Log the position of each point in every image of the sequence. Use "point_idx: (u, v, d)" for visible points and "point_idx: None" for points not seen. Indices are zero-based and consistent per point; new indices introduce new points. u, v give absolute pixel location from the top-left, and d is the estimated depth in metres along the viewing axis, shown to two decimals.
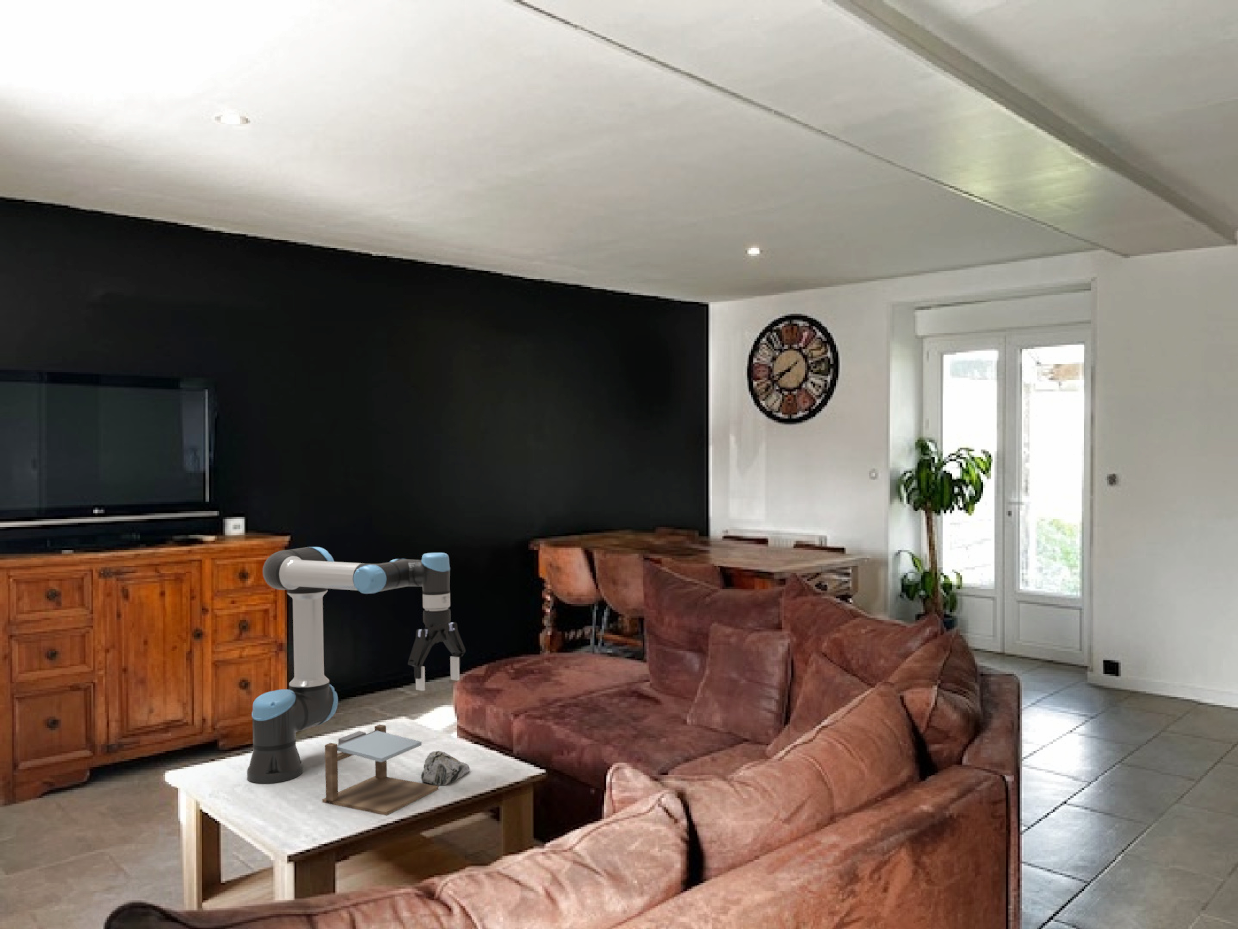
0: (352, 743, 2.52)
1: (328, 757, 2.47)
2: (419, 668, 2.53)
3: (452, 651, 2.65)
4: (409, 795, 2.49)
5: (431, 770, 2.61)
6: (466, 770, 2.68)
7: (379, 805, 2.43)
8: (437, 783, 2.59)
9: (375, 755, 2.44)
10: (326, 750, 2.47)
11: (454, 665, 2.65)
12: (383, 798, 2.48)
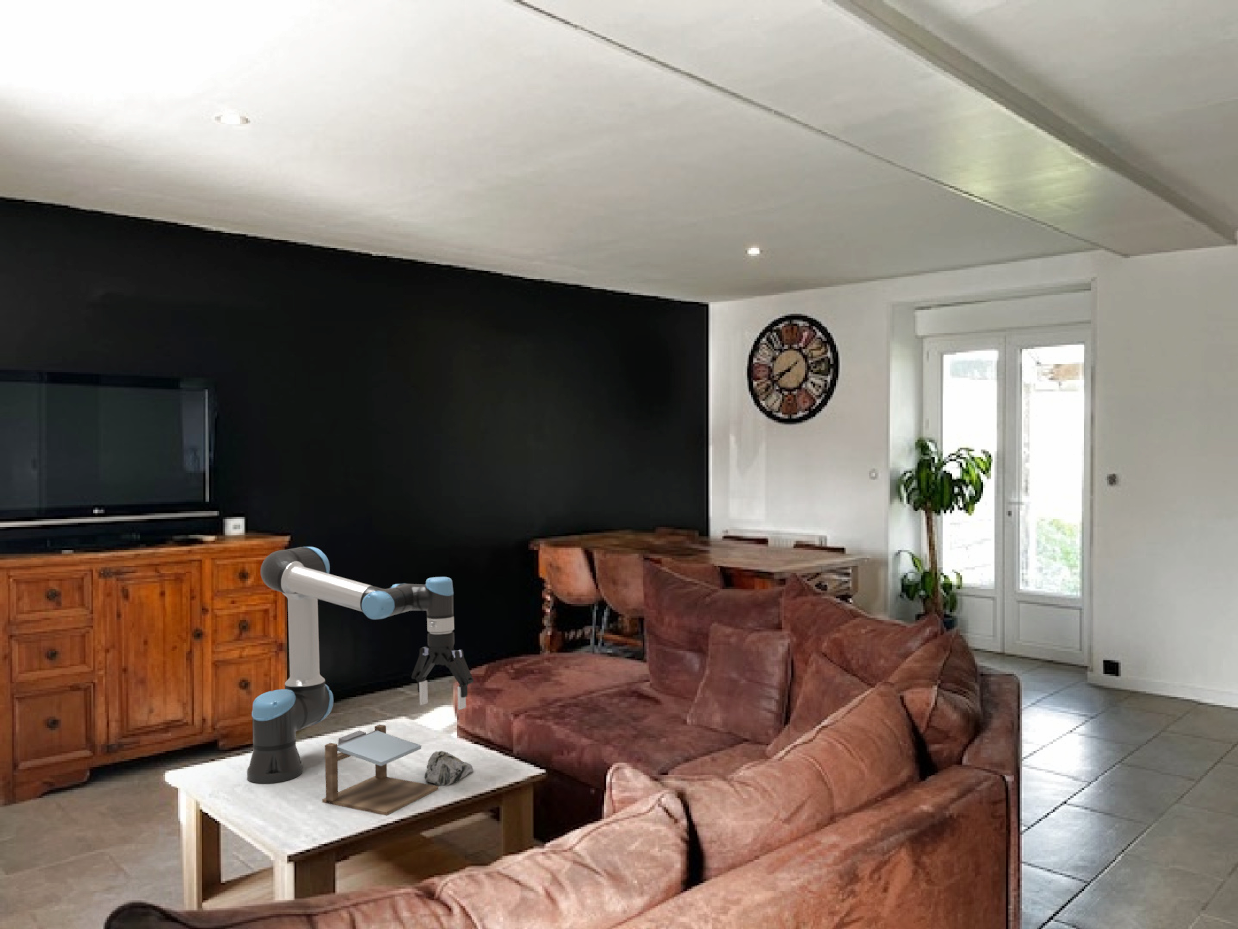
0: (352, 743, 2.52)
1: (328, 757, 2.47)
2: (419, 683, 2.69)
3: None
4: (409, 795, 2.49)
5: (434, 769, 2.61)
6: (469, 770, 2.68)
7: (379, 805, 2.43)
8: (441, 783, 2.59)
9: (375, 758, 2.44)
10: (326, 750, 2.47)
11: None
12: (383, 798, 2.48)
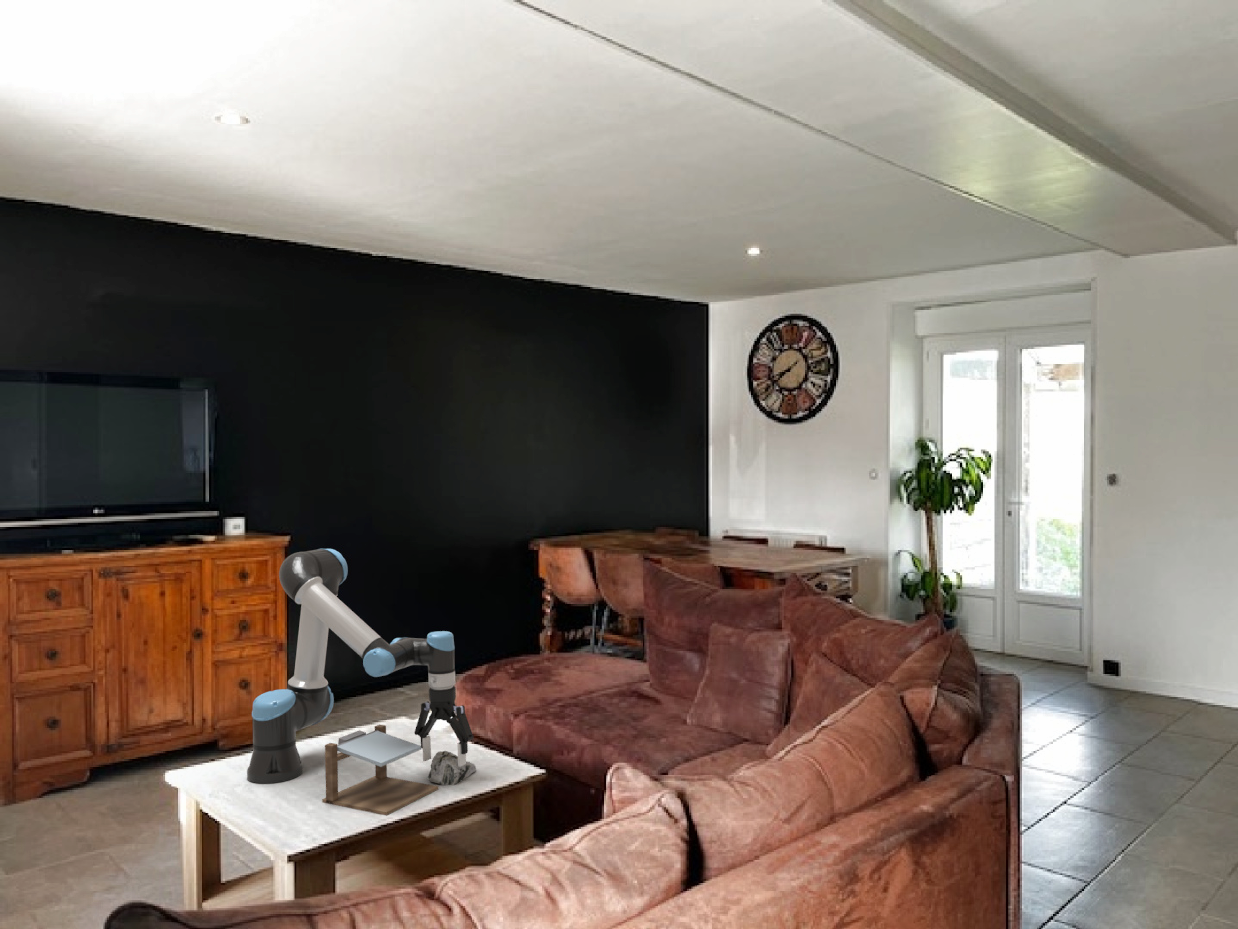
0: (352, 744, 2.52)
1: (328, 757, 2.47)
2: None
3: None
4: (409, 795, 2.49)
5: (438, 770, 2.61)
6: (473, 770, 2.69)
7: (379, 805, 2.43)
8: (445, 783, 2.60)
9: (375, 759, 2.44)
10: (326, 750, 2.47)
11: None
12: (383, 798, 2.48)
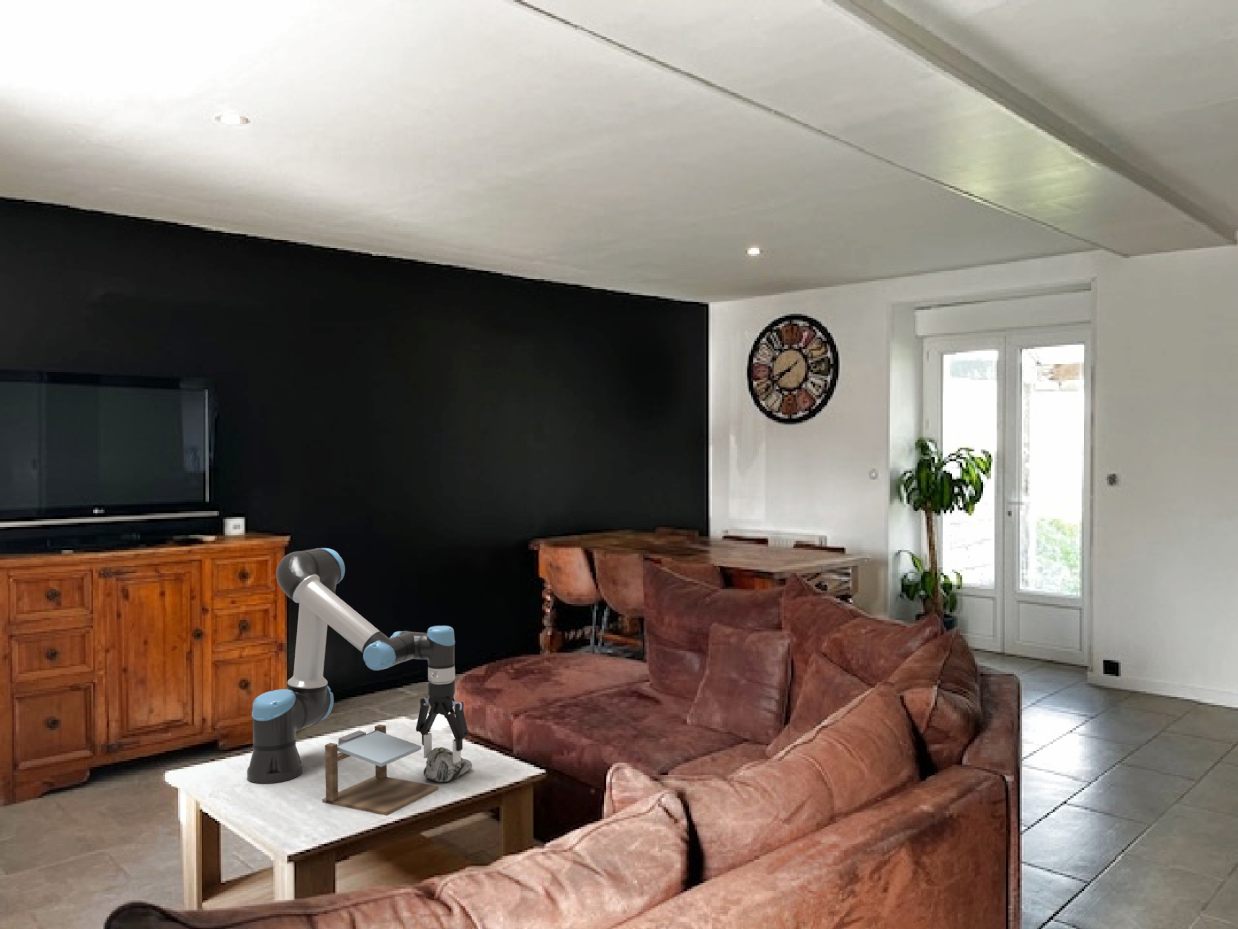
0: (352, 744, 2.52)
1: (328, 757, 2.47)
2: (424, 735, 2.68)
3: None
4: (409, 795, 2.49)
5: (433, 766, 2.62)
6: (468, 767, 2.69)
7: (379, 805, 2.43)
8: (439, 779, 2.60)
9: (375, 759, 2.44)
10: (326, 750, 2.47)
11: None
12: (383, 798, 2.48)
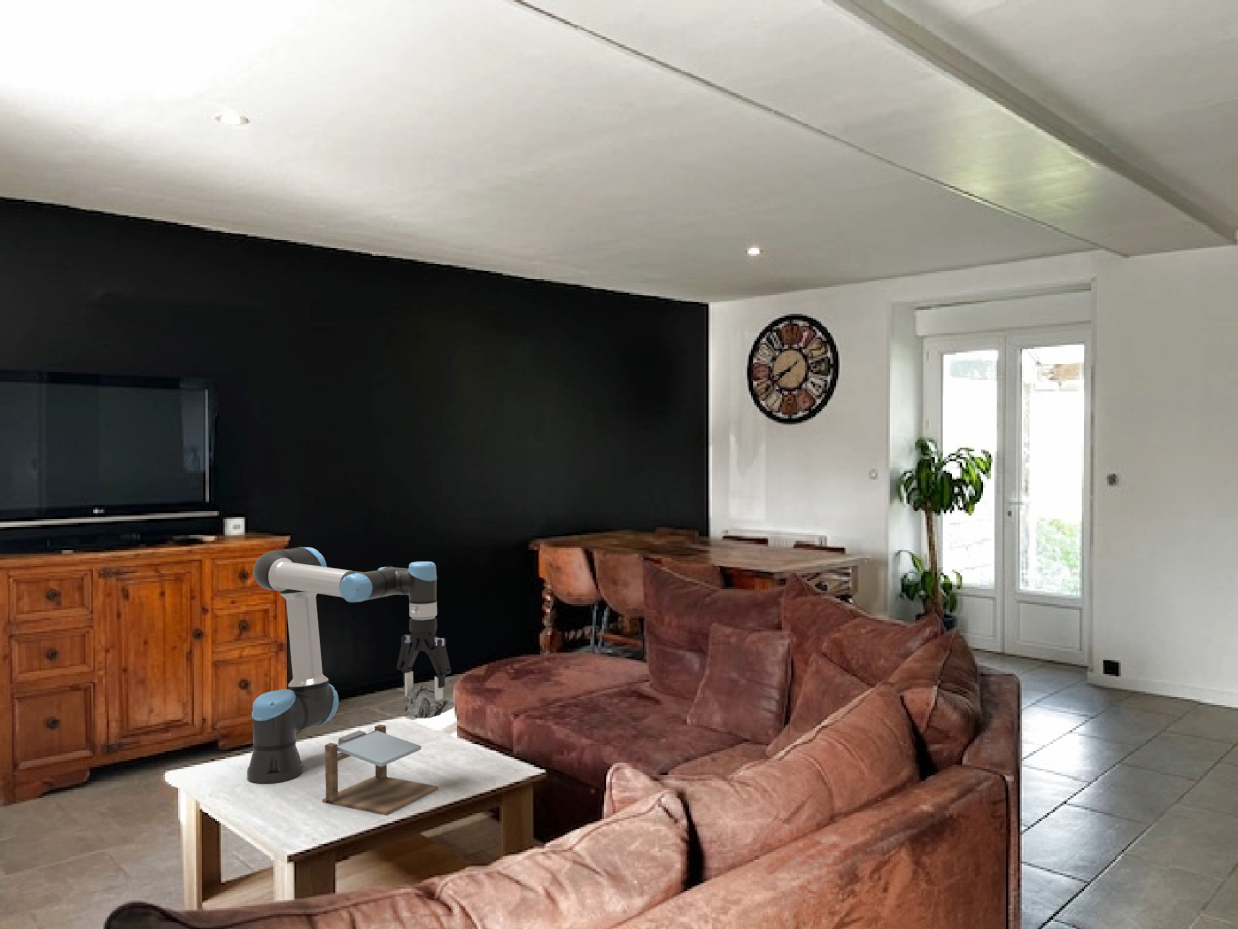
0: (352, 744, 2.52)
1: (328, 757, 2.47)
2: (405, 673, 2.63)
3: None
4: (409, 795, 2.49)
5: (415, 703, 2.57)
6: (451, 705, 2.64)
7: (379, 805, 2.43)
8: (421, 716, 2.55)
9: (375, 759, 2.44)
10: (326, 750, 2.47)
11: None
12: (383, 798, 2.48)
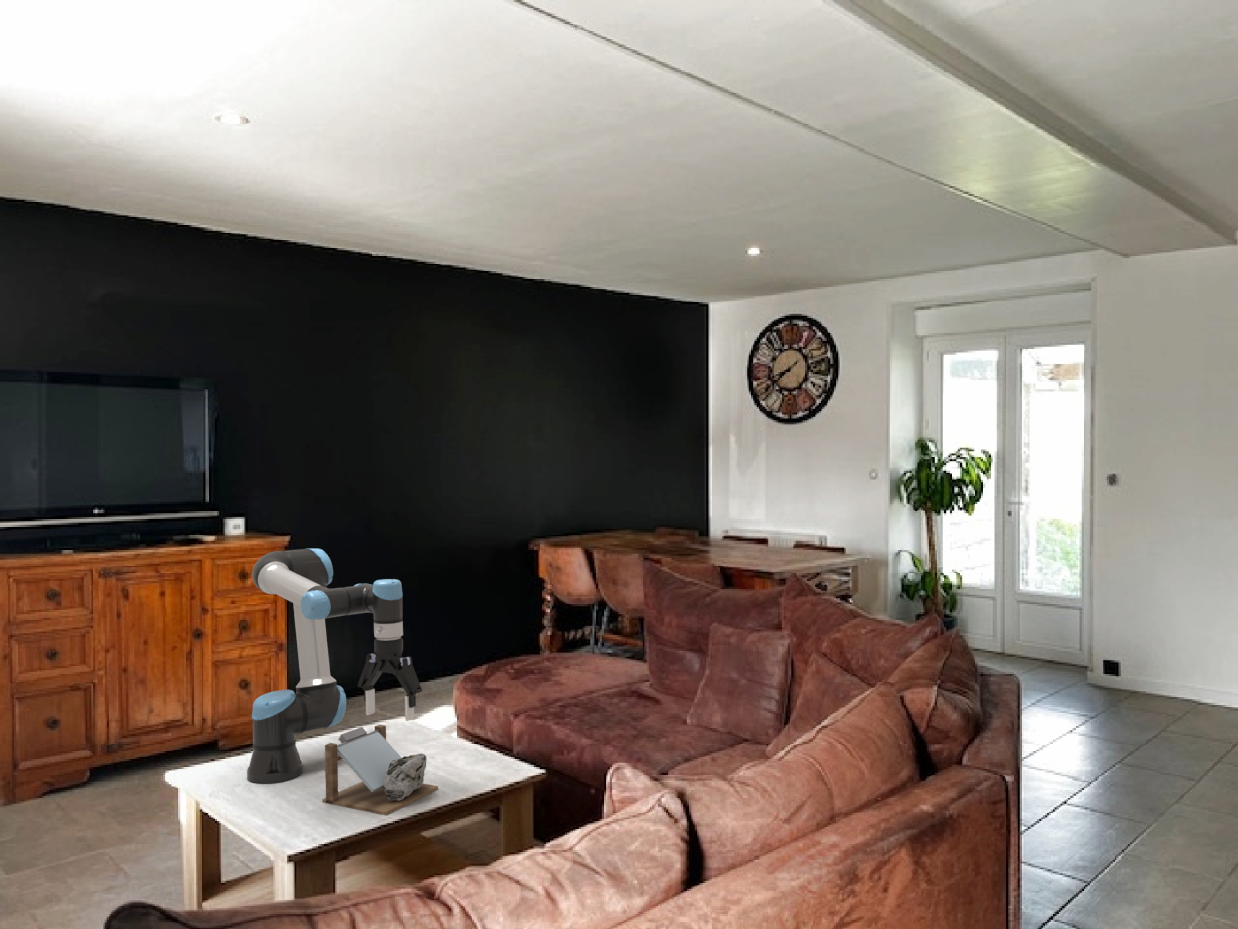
0: (352, 747, 2.52)
1: (328, 757, 2.47)
2: (365, 691, 2.53)
3: None
4: (409, 795, 2.49)
5: (396, 782, 2.44)
6: None
7: (379, 805, 2.43)
8: (386, 791, 2.45)
9: (369, 780, 2.45)
10: (326, 750, 2.47)
11: None
12: (383, 798, 2.48)
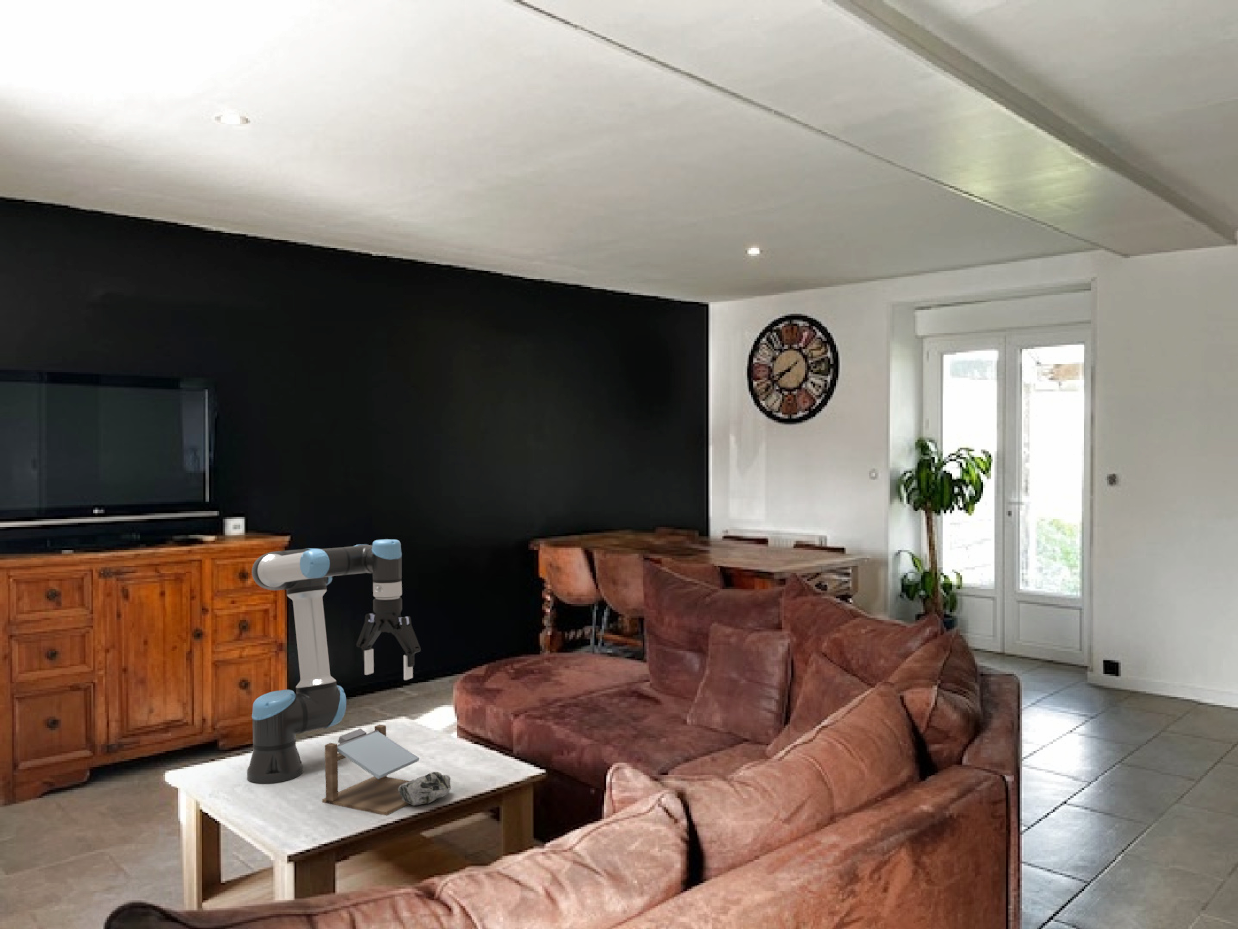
0: (352, 745, 2.52)
1: (328, 757, 2.47)
2: None
3: None
4: None
5: (417, 795, 2.42)
6: None
7: (379, 805, 2.43)
8: (404, 787, 2.42)
9: (373, 769, 2.44)
10: (326, 750, 2.47)
11: None
12: (383, 798, 2.48)
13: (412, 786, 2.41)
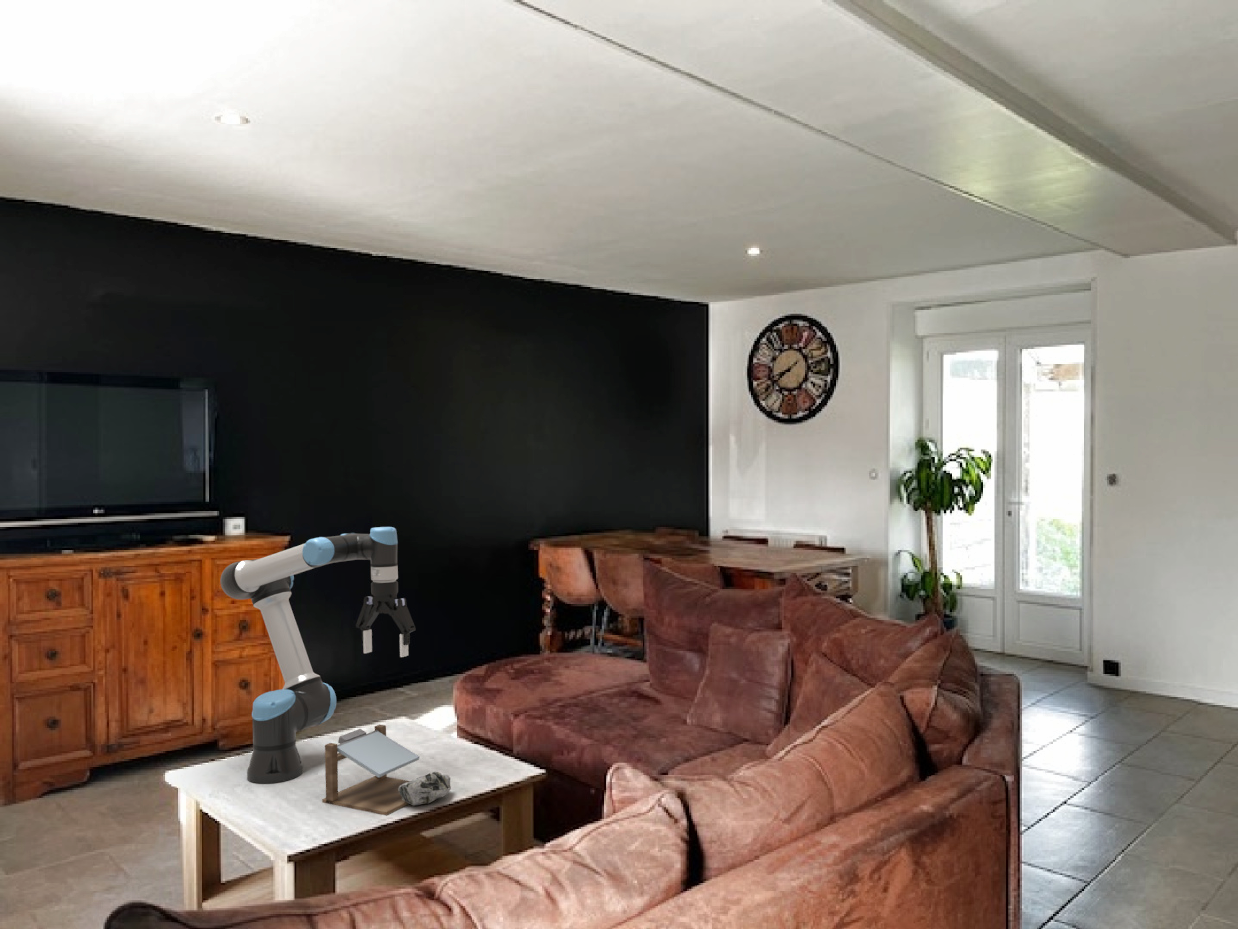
0: (352, 745, 2.52)
1: (328, 757, 2.47)
2: None
3: None
4: None
5: (417, 795, 2.42)
6: None
7: (379, 805, 2.43)
8: (404, 787, 2.42)
9: (374, 768, 2.44)
10: (326, 750, 2.47)
11: None
12: (383, 798, 2.48)
13: (412, 786, 2.41)
